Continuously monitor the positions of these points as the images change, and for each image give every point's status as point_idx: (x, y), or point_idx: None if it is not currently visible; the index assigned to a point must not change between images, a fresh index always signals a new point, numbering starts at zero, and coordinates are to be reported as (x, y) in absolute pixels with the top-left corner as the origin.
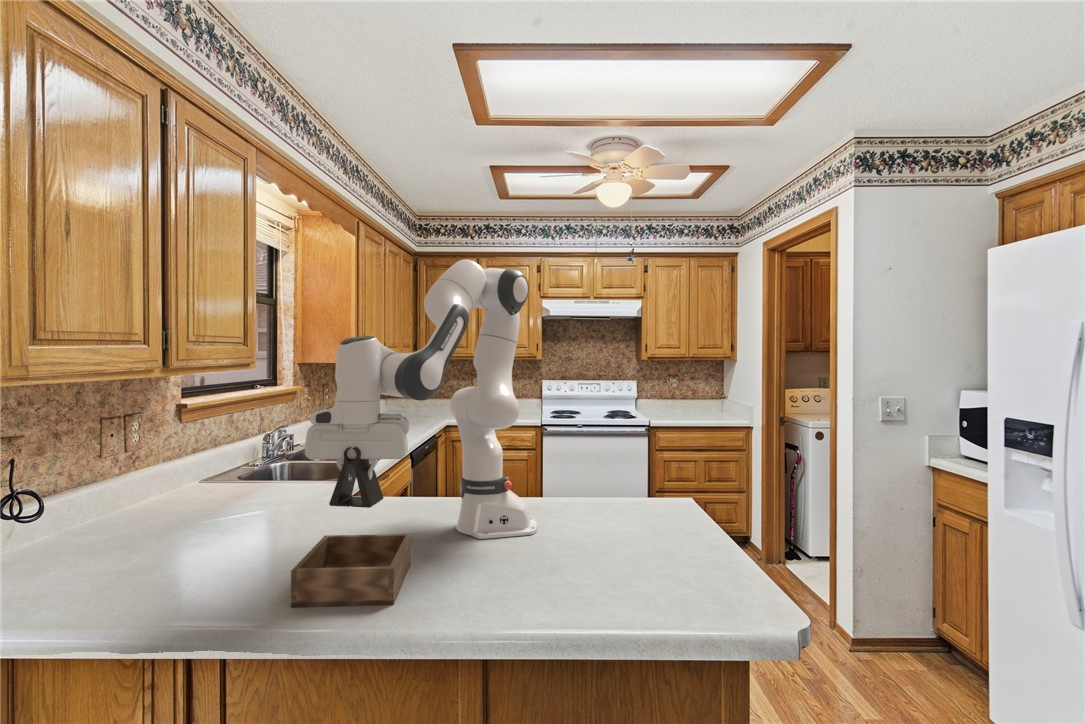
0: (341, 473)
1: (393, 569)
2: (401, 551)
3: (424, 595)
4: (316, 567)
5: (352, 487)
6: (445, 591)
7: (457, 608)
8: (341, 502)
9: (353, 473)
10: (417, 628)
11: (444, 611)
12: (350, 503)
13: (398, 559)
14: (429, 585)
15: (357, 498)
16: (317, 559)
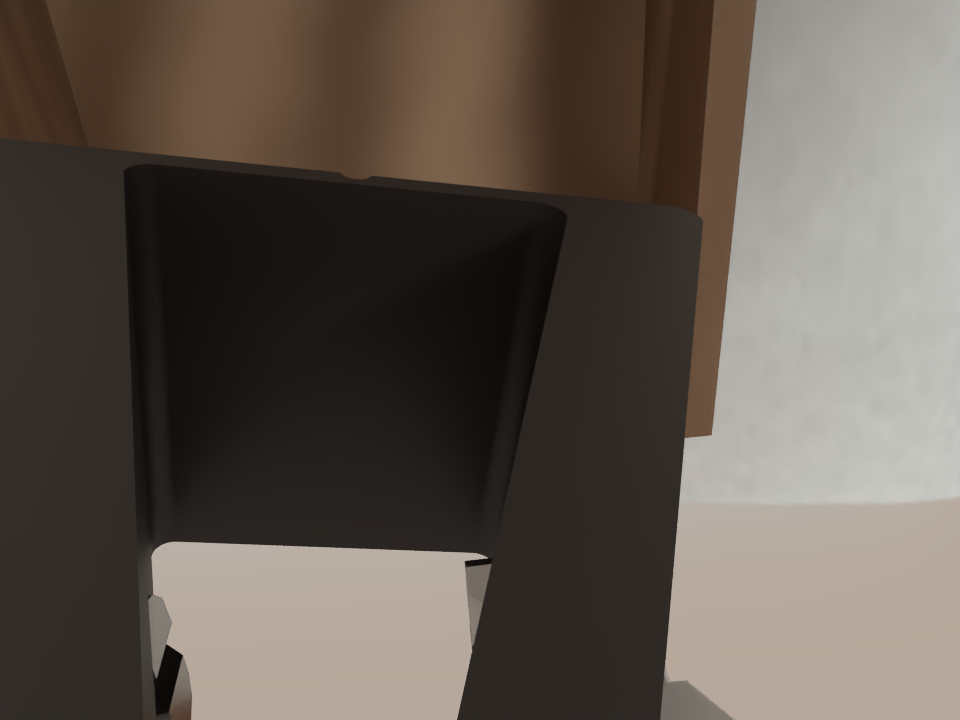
0: None
1: (706, 430)
2: (733, 161)
3: (803, 223)
4: (41, 92)
5: (129, 289)
6: (920, 173)
7: (955, 343)
8: (160, 478)
9: (149, 645)
10: (775, 493)
11: (893, 371)
12: (306, 498)
13: (724, 300)
14: (833, 96)
15: (293, 274)
16: (15, 85)
